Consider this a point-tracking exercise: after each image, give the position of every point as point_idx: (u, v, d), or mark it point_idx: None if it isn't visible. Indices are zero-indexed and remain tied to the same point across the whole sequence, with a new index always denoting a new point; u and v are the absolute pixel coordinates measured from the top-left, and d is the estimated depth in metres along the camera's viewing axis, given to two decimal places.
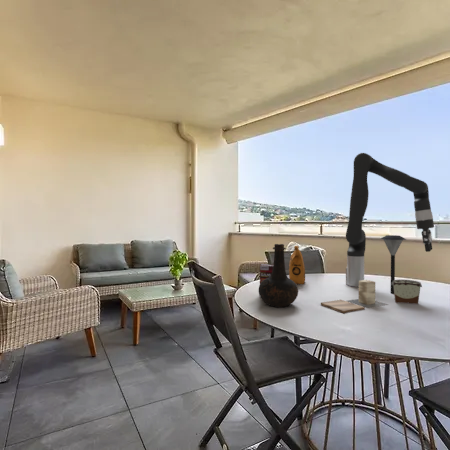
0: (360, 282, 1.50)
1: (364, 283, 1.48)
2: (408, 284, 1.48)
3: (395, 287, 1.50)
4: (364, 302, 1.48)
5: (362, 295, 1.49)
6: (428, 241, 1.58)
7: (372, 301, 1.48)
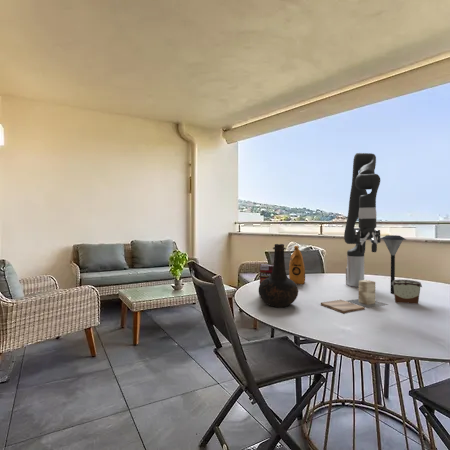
0: (360, 282, 1.50)
1: (364, 283, 1.48)
2: (408, 284, 1.48)
3: (395, 287, 1.50)
4: (364, 302, 1.48)
5: (362, 295, 1.49)
6: (357, 242, 1.45)
7: (372, 301, 1.48)
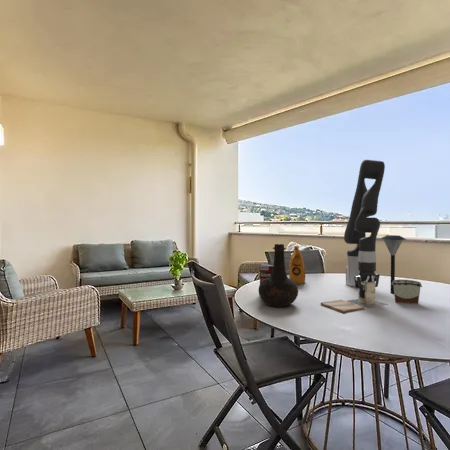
0: None
1: None
2: (408, 284, 1.48)
3: (395, 287, 1.50)
4: (364, 302, 1.48)
5: None
6: (359, 288, 1.46)
7: (372, 301, 1.48)
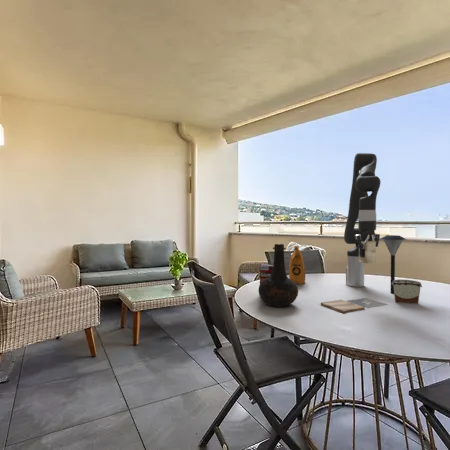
0: None
1: None
2: (408, 284, 1.48)
3: (395, 287, 1.50)
4: (364, 261, 1.47)
5: None
6: (359, 246, 1.46)
7: (372, 260, 1.47)
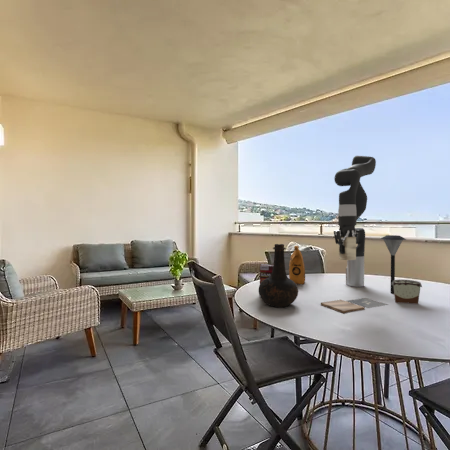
0: None
1: None
2: (408, 284, 1.48)
3: (395, 287, 1.50)
4: (344, 258, 1.41)
5: None
6: (339, 242, 1.40)
7: (353, 257, 1.41)
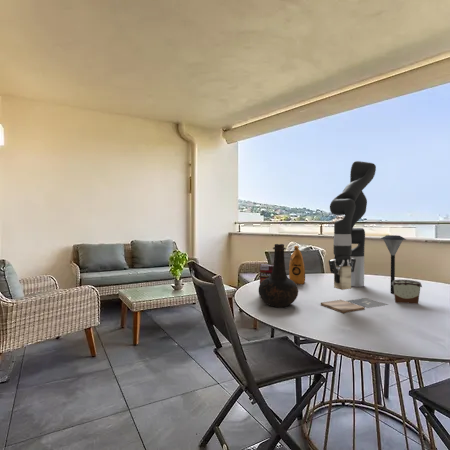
0: None
1: None
2: (408, 284, 1.48)
3: (395, 287, 1.50)
4: (339, 287, 1.41)
5: None
6: (334, 272, 1.40)
7: (348, 286, 1.41)
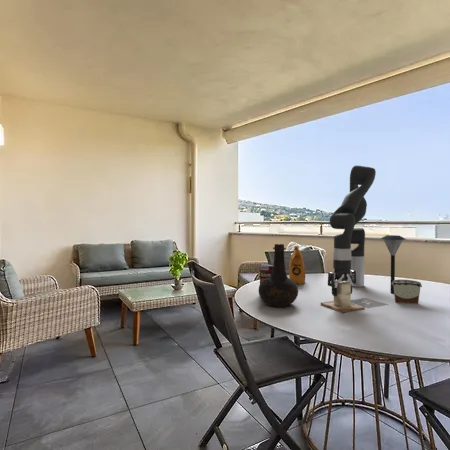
0: None
1: (339, 284, 1.42)
2: (408, 284, 1.48)
3: (395, 287, 1.50)
4: (339, 304, 1.42)
5: (337, 297, 1.43)
6: (331, 285, 1.40)
7: (347, 303, 1.42)
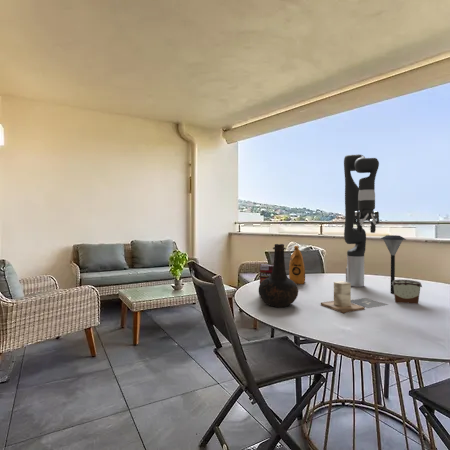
0: (335, 283, 1.44)
1: (339, 284, 1.42)
2: (408, 284, 1.48)
3: (395, 287, 1.50)
4: (339, 304, 1.42)
5: (337, 297, 1.43)
6: (357, 222, 1.53)
7: (347, 303, 1.42)
